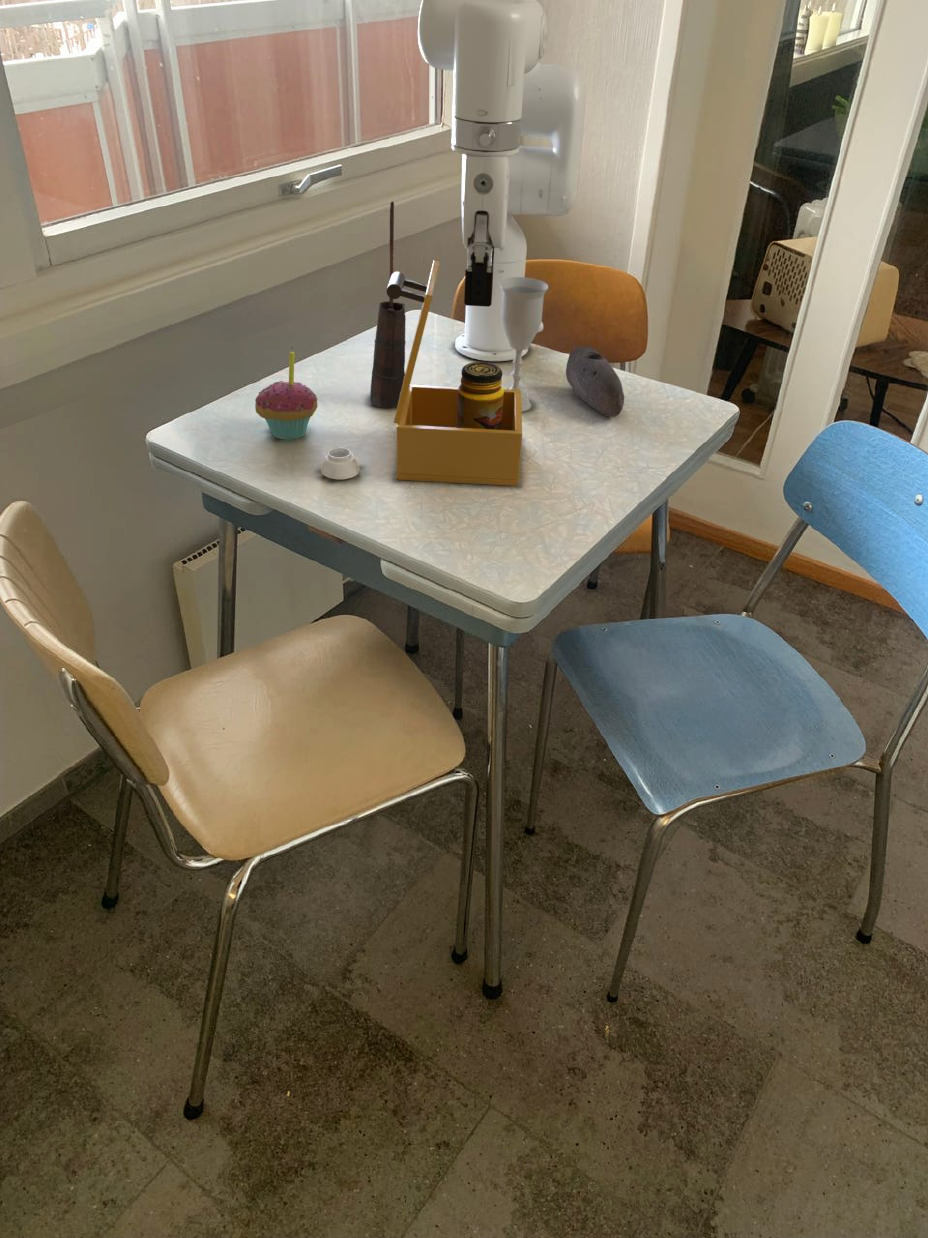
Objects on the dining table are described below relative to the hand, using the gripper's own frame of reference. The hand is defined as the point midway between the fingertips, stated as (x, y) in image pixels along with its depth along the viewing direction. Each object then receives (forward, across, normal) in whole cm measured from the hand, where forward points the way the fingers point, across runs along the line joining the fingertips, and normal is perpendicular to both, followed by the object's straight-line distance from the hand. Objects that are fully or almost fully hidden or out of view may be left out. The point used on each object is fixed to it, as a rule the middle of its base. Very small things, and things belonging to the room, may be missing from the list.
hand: (478, 291), depth 112 cm
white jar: (+22, -7, +17) cm, 29 cm away
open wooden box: (+22, -1, +2) cm, 22 cm away
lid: (+7, -1, +7) cm, 10 cm away
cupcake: (+23, +4, +26) cm, 35 cm away
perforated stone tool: (+23, +19, -18) cm, 35 cm away
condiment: (+22, -1, 0) cm, 22 cm away
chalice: (+23, +18, -6) cm, 30 cm away
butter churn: (+23, +16, +13) cm, 31 cm away
